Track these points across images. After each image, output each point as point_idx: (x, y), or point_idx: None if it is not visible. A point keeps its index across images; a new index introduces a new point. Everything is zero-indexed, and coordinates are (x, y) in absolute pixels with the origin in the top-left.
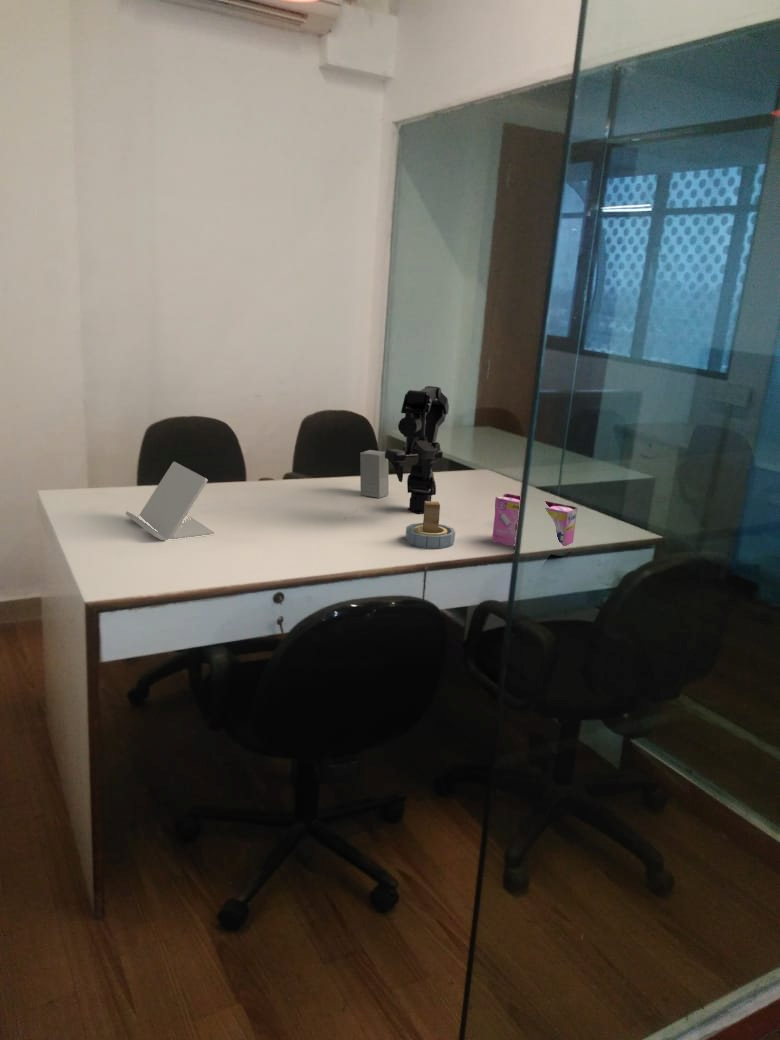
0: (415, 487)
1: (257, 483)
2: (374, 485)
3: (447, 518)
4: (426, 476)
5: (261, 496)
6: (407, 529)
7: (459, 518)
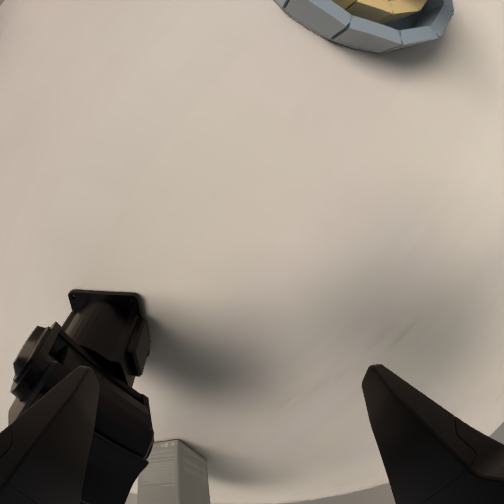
0: (123, 392)
1: (328, 493)
2: (187, 472)
3: (57, 194)
4: (66, 382)
5: None
6: (449, 18)
7: (21, 178)
